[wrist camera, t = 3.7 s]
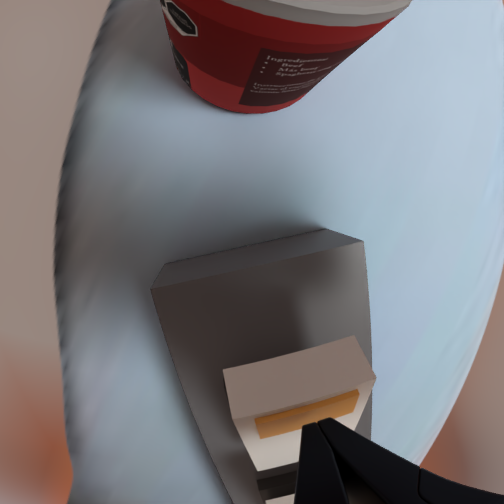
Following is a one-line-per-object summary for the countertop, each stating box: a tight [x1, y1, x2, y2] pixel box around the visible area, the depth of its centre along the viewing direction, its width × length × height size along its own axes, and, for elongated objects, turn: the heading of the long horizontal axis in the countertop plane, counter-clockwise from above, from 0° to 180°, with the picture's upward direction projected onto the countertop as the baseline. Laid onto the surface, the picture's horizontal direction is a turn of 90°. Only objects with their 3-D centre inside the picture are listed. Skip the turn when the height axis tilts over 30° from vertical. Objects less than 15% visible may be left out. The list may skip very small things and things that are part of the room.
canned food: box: [160, 0, 412, 113], centre depth 10 cm, size 8×8×11 cm
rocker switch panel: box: [150, 229, 372, 504], centre depth 17 cm, size 30×9×5 cm, turn 11°
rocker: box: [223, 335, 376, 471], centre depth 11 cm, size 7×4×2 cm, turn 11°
